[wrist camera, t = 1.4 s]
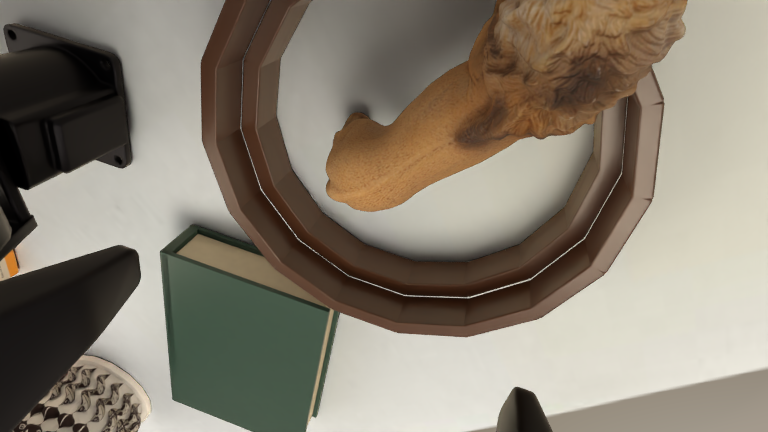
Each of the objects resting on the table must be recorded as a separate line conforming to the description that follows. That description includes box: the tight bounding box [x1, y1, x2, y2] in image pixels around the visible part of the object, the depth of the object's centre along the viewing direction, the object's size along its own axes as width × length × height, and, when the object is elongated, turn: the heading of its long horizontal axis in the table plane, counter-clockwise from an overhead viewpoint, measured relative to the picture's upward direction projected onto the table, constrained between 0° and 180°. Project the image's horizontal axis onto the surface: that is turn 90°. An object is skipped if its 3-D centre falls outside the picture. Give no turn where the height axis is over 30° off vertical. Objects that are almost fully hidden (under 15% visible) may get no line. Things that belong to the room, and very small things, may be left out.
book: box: [160, 225, 340, 432], centre depth 30 cm, size 10×14×3 cm
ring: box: [201, 0, 664, 337], centre depth 19 cm, size 17×17×4 cm
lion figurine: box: [326, 0, 687, 212], centre depth 15 cm, size 15×5×9 cm, turn 138°
